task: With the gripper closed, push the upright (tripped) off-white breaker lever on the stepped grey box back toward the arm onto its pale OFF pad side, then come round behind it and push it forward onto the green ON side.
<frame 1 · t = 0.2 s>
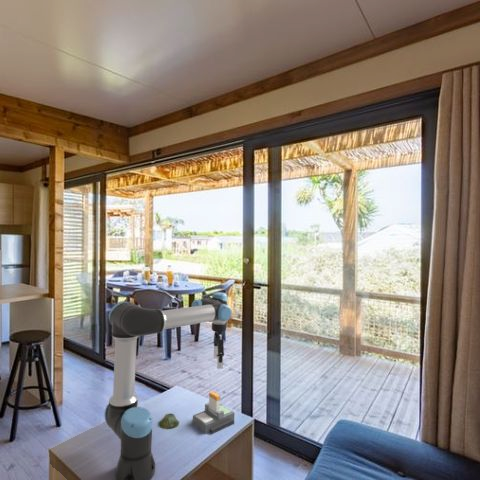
hand: (218, 363, 174), 28 cm above the table, fingers open, 13 cm apart
stepped grey box: (213, 421, 169), on the table
lever: (214, 403, 169), point 10 cm above the table, hinge at 0.0°
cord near: (222, 427, 164), on the table
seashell: (169, 424, 166), on the table
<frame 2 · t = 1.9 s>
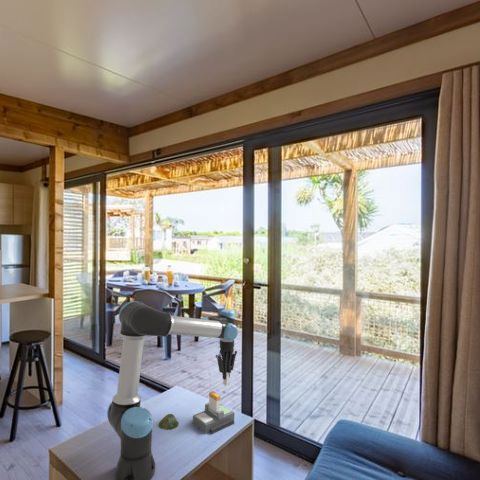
hand: (225, 384, 174), 17 cm above the table, fingers closed
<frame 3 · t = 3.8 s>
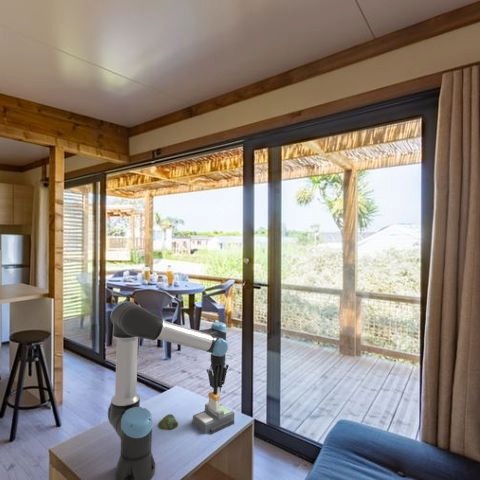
hand: (216, 399, 170), 11 cm above the table, fingers closed
lever: (214, 403, 169), point 9 cm above the table, hinge at -3.7°, touching gripper
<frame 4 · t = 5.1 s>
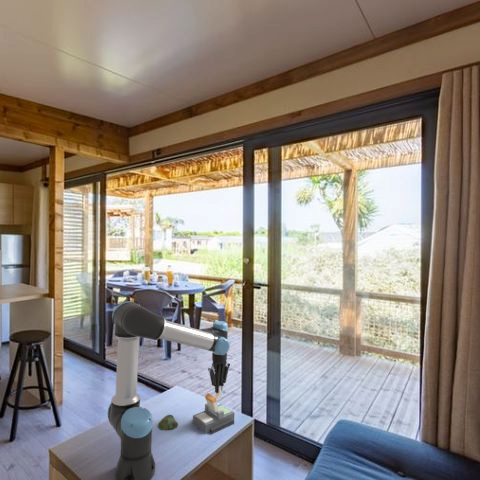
hand: (218, 398, 170), 11 cm above the table, fingers closed
lever: (212, 404, 168), point 9 cm above the table, hinge at -20.4°
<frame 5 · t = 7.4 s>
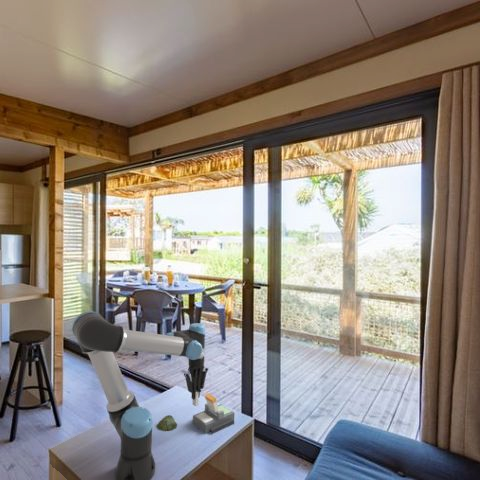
hand: (195, 404, 161), 12 cm above the table, fingers closed
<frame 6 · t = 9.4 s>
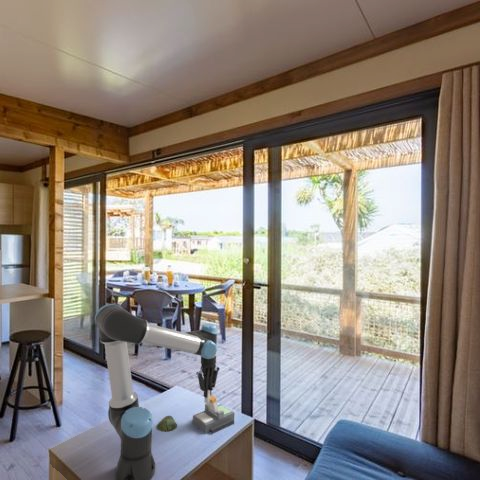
hand: (207, 402, 166), 11 cm above the table, fingers closed
lever: (212, 404, 168), point 9 cm above the table, hinge at -20.6°, touching gripper
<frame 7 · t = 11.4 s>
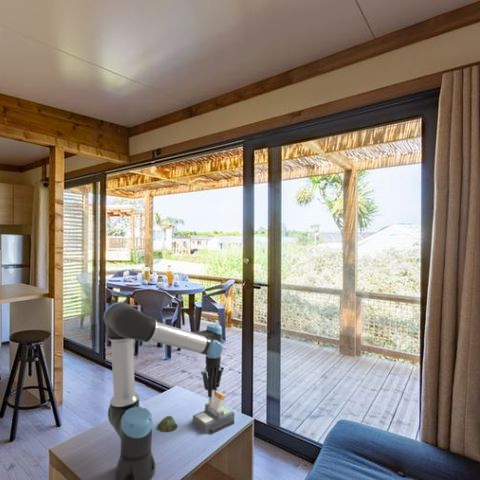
hand: (211, 402, 168), 10 cm above the table, fingers closed
lever: (216, 402, 170), point 9 cm above the table, hinge at 24.3°
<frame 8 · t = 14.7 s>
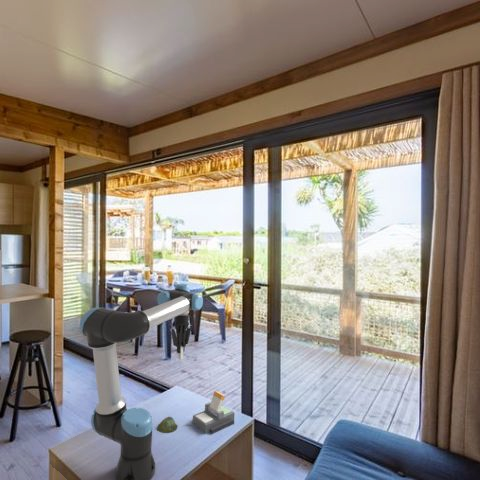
hand: (180, 358, 174), 29 cm above the table, fingers closed
at the end: lever at +24° (first picture: +0°) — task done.
